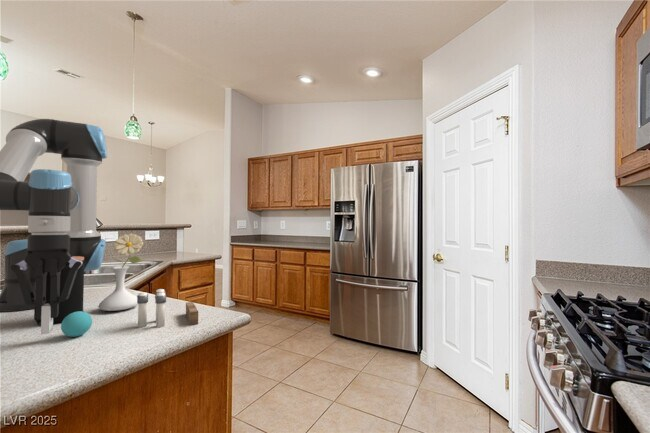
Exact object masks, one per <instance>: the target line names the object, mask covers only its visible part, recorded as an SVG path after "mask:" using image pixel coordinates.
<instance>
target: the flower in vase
mask: <svg viewBox="0 0 650 433" xmlns="http://www.w3.org/2000/svg"><path fill="white" fill-rule="evenodd" d="M143 245H144V242H143V239H142V236H140V235H137V234H135V233H134V234H133V233H128V234H123V235H122V236H118V239H115V242H114V243H113V248H114V251H115V253H116V254H119V255H120V256H121V255H124V256H126V257H128V258H127V259H126V260H125V262H124V261H123V260H120V259H118V258H115V257H113V256H112V257H111V258H112V259H113V260H115V261H118V262H120V263H123V265H119V266H112V267H111V270H113V272H114V274H115V281H116V283H115V289H114V291H112V292H111V293H110V294H109V295H107V296H106V297H105V298H104V299H103V300H101V302H100V303H99V305H97V306H98V308H99V309H100V310H102V311H108V312H111V311H112V312H113V311H116V312H117V311H123V310H128V309H132V308H134V307H136V306H138V303H137V295H135V294H133V293H132V292H130V291H128V290H127V289H126V286H125V279H126V273H127V271H128V270H129V268H130V266H128V265H126V263H127V262H128V261H129V262H130V263H131V264H137V263H141V262H143V259H142V258H140V257H139V256H138V255H135V256H134V255H133V254H137V253H138V252H140V251H141V250H140V249H142V248H143ZM131 255H133V256H132V257H131Z"/></svg>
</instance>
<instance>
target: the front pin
mask: <svg viewBox="0 0 650 433" xmlns="http://www.w3.org/2000/svg"><path fill="white" fill-rule="evenodd" d="M136 297H137V303H138V305H137V307H138V308H137V314H138V315H137V327H138V328H146V327H147V321H148V320H147V318H148V317H147V316H148V314H147V311H148V310H147V308H148V303H149V293H148V292H140V293H138V295H136Z"/></svg>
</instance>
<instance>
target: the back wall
mask: <svg viewBox="0 0 650 433" xmlns="http://www.w3.org/2000/svg"><path fill="white" fill-rule="evenodd" d="M185 315H186V318H187V320H188V323H189V325H190V326H196V325H198V324H199V310H198V308H197V307H196V305H195V303H194V302H193V301H188V302H185Z"/></svg>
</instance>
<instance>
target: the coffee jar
mask: <svg viewBox="0 0 650 433" xmlns="http://www.w3.org/2000/svg"><path fill="white" fill-rule="evenodd" d="M72 258H74V259H76V260H78V261H83V260H84V257H81V256H72ZM69 264H70V262H68V263H67V264H66V265H65V266H64V268H63V269H62V270H61V274H60V296H61V294H62V291H63V288H64V285H65V282H66V279H67V276H68V273H69V270H70V269H71V268H70V267H69ZM35 275H36V273H35ZM84 281H85V272H84V265H83V264H82V265H81V267H80V268H79V269H78V271H77V274H76V277H75V280H74V283H73V286H72V289H71V292H70V295H69V298H68V299H66V300H65V301H62V302H60V303H59V314H58V316H57V317H56V318H53V325H57V324H58V325H61V324H62V321H63V320H64V318H65V317H66V316H68V315H69V314H71V313H73V312H78V311H82V312H84V288H85V287H84V285H85V282H84ZM50 282H51V277H50V272H47V276H46V302H45V304H49V303H50ZM35 298H36V276H35ZM33 310H34V313H33V314H34V316H33V317H34V318H33V319H34V321H35V322H36V323H37V324H38V325H40V326H41V319H39V320H37V319H36V306H35V308H34V309H33Z"/></svg>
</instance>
